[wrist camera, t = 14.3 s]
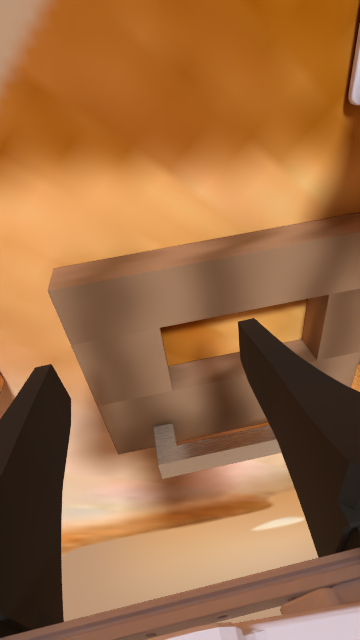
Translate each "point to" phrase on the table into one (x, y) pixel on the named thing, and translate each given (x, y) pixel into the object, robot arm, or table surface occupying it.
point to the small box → (1, 382)
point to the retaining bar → (211, 450)
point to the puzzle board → (201, 303)
